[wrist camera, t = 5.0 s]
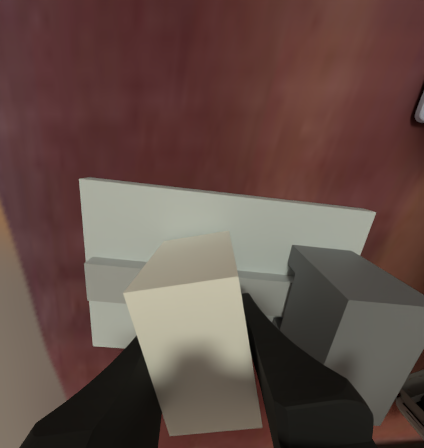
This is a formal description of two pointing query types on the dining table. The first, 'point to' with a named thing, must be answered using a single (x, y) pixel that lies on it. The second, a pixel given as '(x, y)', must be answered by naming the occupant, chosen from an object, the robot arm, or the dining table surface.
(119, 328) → the rail plate
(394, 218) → the dining table surface
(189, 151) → the dining table surface
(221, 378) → the block
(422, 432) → the electrical switch
